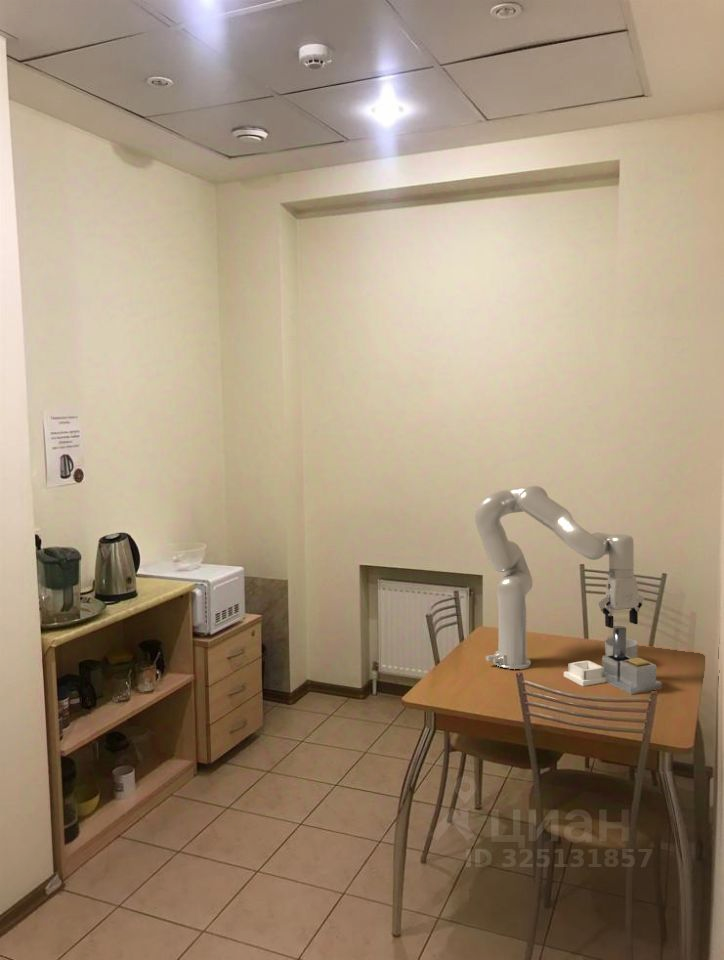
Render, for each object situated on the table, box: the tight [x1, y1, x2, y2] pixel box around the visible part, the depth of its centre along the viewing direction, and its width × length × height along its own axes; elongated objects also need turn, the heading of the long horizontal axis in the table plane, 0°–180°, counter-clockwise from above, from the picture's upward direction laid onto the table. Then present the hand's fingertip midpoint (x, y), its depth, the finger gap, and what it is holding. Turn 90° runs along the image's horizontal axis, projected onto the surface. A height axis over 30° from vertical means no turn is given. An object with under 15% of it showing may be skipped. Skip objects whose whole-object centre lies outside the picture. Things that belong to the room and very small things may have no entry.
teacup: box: [604, 635, 639, 658], centre depth 268 cm, size 14×11×8 cm
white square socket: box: [563, 659, 606, 687], centre depth 253 cm, size 10×10×4 cm
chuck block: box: [601, 654, 663, 695], centre depth 249 cm, size 12×17×8 cm
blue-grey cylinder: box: [612, 625, 627, 661], centre depth 252 cm, size 4×4×15 cm
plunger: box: [628, 657, 650, 667], centre depth 244 cm, size 4×4×6 cm
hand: (621, 625), depth 251 cm, fingers open, 9 cm apart
